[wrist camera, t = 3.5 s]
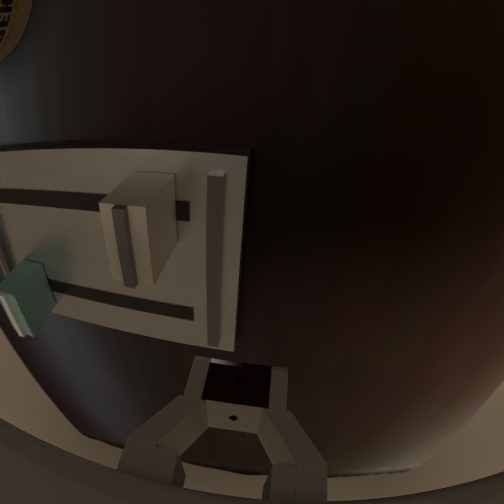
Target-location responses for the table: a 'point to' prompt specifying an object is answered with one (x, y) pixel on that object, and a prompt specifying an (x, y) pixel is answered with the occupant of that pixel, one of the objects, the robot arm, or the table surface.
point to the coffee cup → (12, 23)
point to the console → (93, 242)
